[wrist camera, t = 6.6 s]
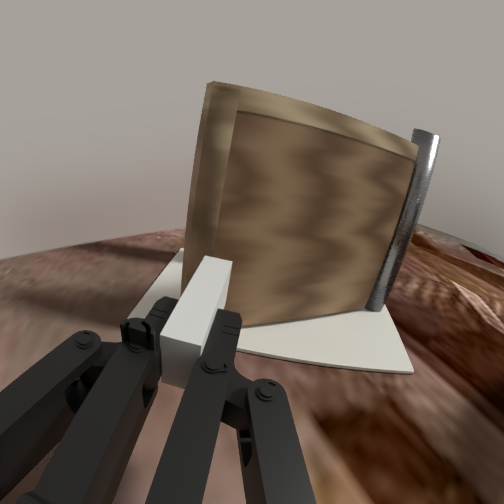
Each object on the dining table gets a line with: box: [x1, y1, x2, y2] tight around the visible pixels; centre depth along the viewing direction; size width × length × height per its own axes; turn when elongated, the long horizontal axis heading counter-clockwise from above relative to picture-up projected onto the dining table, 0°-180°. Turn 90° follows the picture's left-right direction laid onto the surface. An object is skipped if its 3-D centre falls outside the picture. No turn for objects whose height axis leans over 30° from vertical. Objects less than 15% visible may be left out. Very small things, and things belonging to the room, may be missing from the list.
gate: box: [180, 81, 419, 325], centre depth 21 cm, size 18×2×17 cm, turn 112°
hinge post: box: [364, 129, 440, 312], centre depth 25 cm, size 3×3×19 cm
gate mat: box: [127, 248, 414, 374], centre depth 27 cm, size 24×14×1 cm, turn 84°
